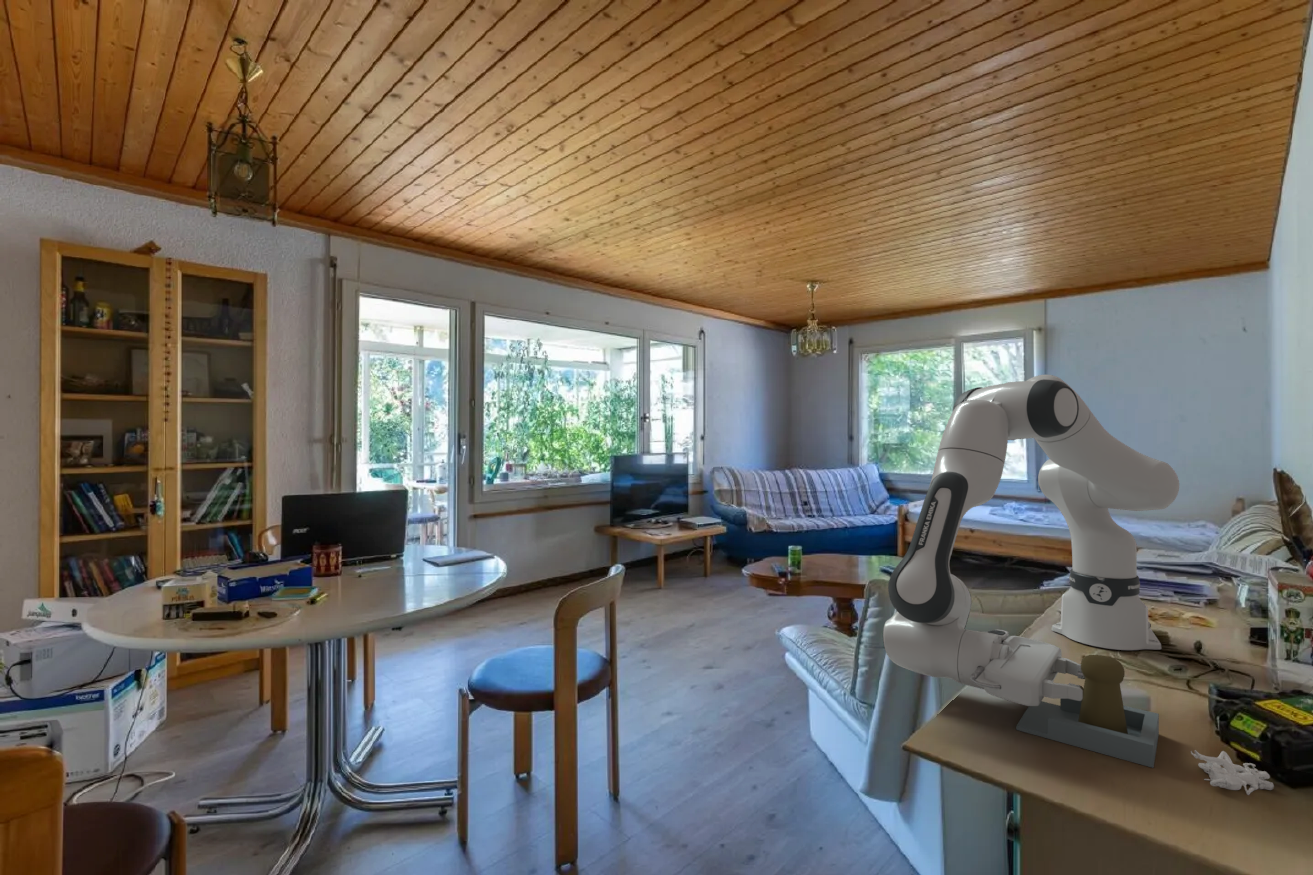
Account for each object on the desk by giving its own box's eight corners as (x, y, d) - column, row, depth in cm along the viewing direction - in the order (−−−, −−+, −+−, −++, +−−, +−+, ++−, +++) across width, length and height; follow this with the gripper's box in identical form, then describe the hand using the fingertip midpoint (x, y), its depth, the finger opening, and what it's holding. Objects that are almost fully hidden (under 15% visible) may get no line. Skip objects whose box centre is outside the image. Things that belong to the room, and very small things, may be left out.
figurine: (1264, 779, 80) (1289, 809, 73) (1186, 762, 83) (1204, 790, 76) (1264, 756, 80) (1290, 783, 73) (1187, 740, 83) (1204, 765, 76)
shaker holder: (1033, 702, 101) (1033, 684, 101) (1158, 733, 90) (1158, 713, 90) (1016, 729, 92) (1016, 709, 92) (1153, 767, 81) (1153, 745, 81)
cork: (1136, 745, 86) (1136, 667, 86) (1087, 740, 88) (1087, 663, 88) (1116, 725, 92) (1116, 651, 92) (1070, 720, 94) (1070, 648, 93)
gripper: (966, 659, 92) (1076, 684, 83) (1000, 626, 108) (1096, 644, 99) (966, 701, 93) (1077, 730, 83) (1000, 662, 108) (1096, 683, 99)
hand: (1087, 683), depth 91 cm, fingers open, 8 cm apart
